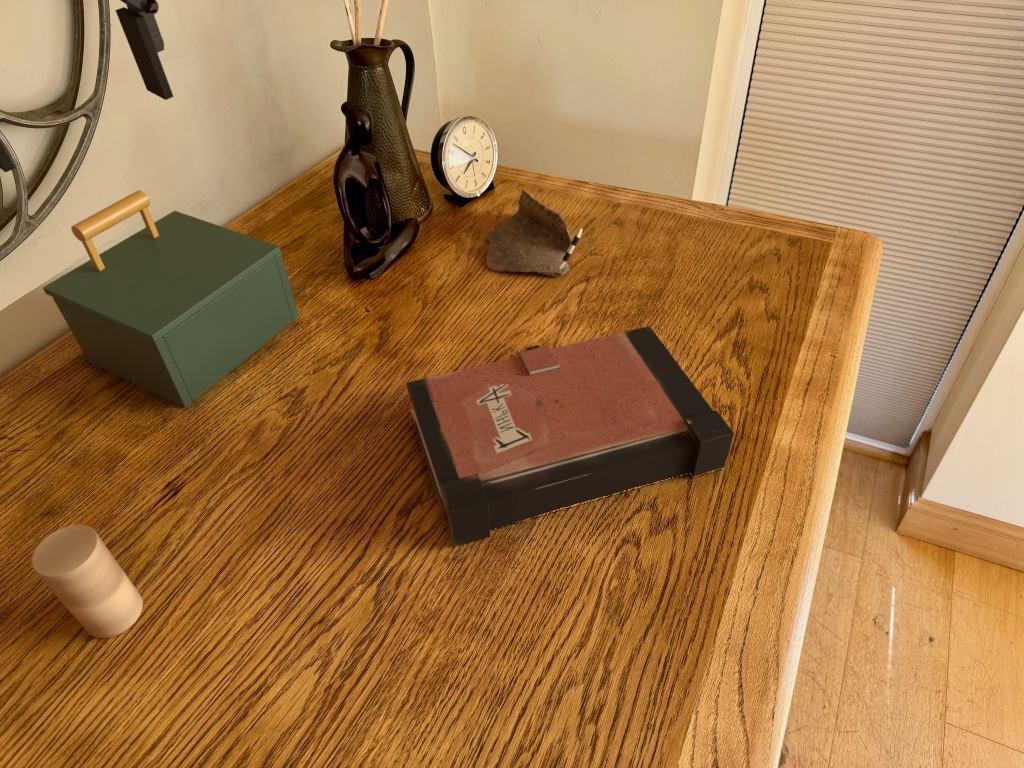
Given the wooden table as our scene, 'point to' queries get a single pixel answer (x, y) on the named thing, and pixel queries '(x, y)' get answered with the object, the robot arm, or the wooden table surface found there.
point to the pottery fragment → (531, 241)
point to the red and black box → (561, 429)
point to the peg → (88, 580)
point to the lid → (157, 268)
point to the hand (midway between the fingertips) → (86, 127)
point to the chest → (193, 337)
